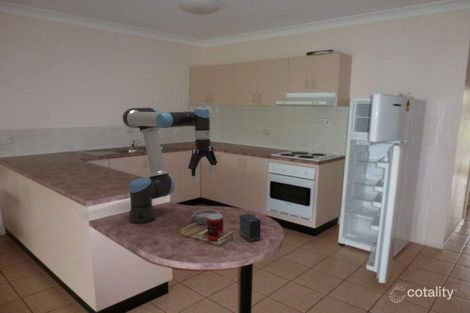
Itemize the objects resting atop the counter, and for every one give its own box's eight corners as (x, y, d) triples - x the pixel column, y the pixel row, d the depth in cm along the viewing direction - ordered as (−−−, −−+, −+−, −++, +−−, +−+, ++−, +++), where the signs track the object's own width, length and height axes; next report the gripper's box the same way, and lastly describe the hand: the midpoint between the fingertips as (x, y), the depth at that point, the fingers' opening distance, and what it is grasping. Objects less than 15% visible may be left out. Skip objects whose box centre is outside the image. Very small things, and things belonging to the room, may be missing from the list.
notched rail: (181, 236, 165) (180, 229, 164) (195, 229, 174) (195, 222, 173) (219, 247, 152) (219, 239, 151) (233, 239, 161) (232, 232, 160)
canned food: (221, 234, 164) (220, 212, 162) (225, 240, 156) (224, 217, 154) (206, 235, 162) (205, 214, 160) (209, 242, 154) (208, 219, 152)
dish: (222, 219, 189) (222, 211, 188) (207, 227, 177) (207, 218, 176) (203, 215, 196) (202, 207, 196) (187, 222, 185) (187, 213, 184)
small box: (261, 240, 159) (261, 219, 157) (249, 242, 156) (249, 221, 154) (250, 232, 168) (250, 213, 167) (239, 235, 165) (238, 215, 164)
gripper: (191, 141, 154) (192, 185, 158) (223, 136, 175) (223, 176, 178) (179, 140, 159) (181, 183, 162) (212, 136, 179) (213, 174, 182)
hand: (203, 179), depth 170 cm, fingers open, 13 cm apart
